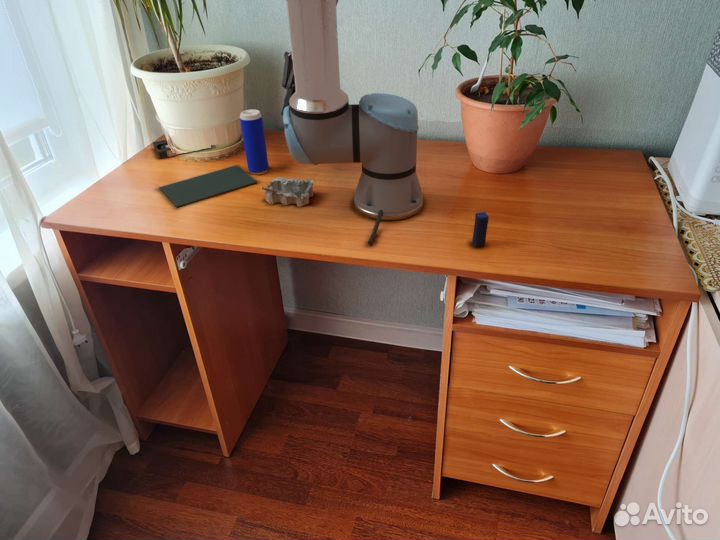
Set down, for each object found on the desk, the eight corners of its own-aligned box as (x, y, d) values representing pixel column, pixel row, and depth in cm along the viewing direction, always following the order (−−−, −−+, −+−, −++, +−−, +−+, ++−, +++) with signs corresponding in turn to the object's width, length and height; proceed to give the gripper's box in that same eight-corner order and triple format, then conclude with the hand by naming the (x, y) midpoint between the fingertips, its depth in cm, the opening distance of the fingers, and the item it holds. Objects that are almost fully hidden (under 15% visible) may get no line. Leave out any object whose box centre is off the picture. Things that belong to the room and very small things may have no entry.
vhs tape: (159, 159, 140) (157, 152, 139) (154, 149, 146) (152, 142, 145) (212, 148, 145) (210, 141, 144) (205, 139, 151) (203, 132, 150)
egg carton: (261, 204, 118) (259, 187, 116) (274, 189, 124) (272, 173, 122) (306, 208, 116) (304, 191, 113) (317, 193, 122) (315, 177, 119)
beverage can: (272, 167, 134) (264, 109, 125) (264, 176, 130) (256, 116, 121) (253, 165, 135) (244, 108, 126) (245, 174, 131) (235, 115, 122)
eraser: (482, 241, 103) (485, 210, 99) (485, 247, 101) (489, 216, 97) (471, 242, 103) (474, 211, 99) (474, 248, 101) (478, 217, 97)
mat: (236, 166, 135) (235, 165, 134) (257, 183, 127) (256, 181, 126) (159, 188, 125) (159, 187, 125) (176, 207, 117) (176, 206, 117)
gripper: (344, 31, 125) (316, 123, 122) (305, 37, 133) (278, 124, 130) (324, 12, 119) (295, 108, 117) (285, 19, 127) (257, 110, 124)
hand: (286, 116), depth 123 cm, fingers closed
